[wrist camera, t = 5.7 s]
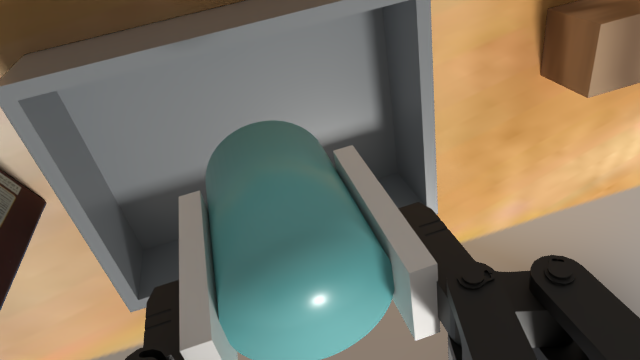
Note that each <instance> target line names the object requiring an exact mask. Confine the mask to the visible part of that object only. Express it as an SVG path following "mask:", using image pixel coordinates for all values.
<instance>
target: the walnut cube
mask: <svg viewBox="0 0 640 360" xmlns="http://www.w3.org/2000/svg"><path fill="white" fill-rule="evenodd" d="M540 75H541V76H543V77H545V78H548V79H550V80H552V81H554V82H556V83H558V84H560V85H562V86H564V87H566V88H568V89H570V90H572V91H574V92H576V93H578V94H581V95H583V96H585V97H587V98H590V97H593V96H596V95H600V94H603V93H607V92H610V91H613V90H617V89H620V88H623V87H627V86H630V85H634V84H637V83H640V0H579V1H575V2H571V3H568V4H564V5H560V6H556V7H552V8H549V9H548V11H547V20H546V29H545V38H544V47H543V56H542V65H541V74H540Z"/></svg>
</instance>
